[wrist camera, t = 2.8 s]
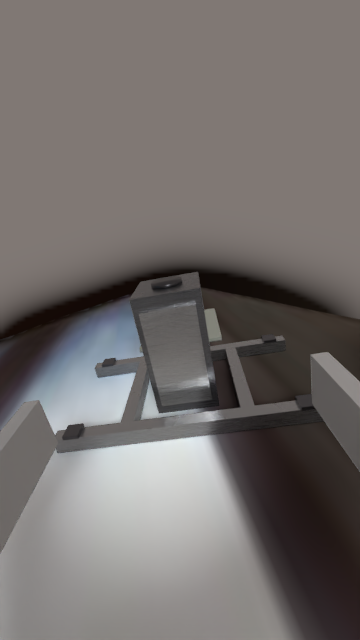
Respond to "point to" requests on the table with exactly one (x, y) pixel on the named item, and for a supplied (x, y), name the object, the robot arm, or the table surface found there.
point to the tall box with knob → (175, 342)
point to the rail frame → (189, 424)
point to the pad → (210, 326)
